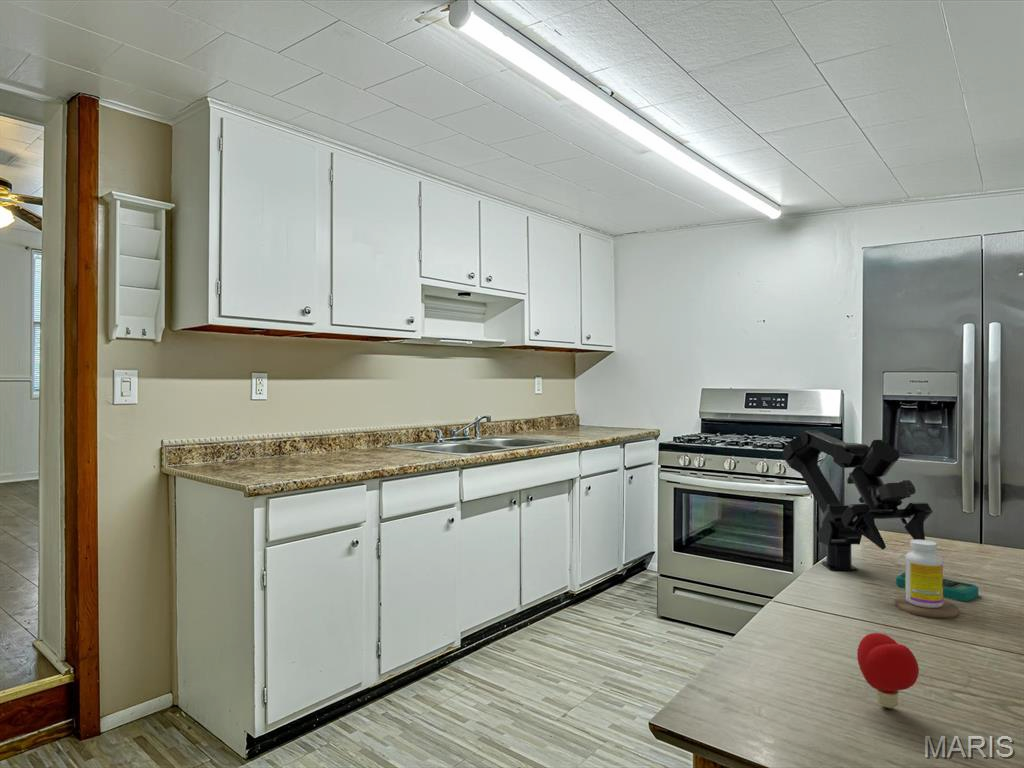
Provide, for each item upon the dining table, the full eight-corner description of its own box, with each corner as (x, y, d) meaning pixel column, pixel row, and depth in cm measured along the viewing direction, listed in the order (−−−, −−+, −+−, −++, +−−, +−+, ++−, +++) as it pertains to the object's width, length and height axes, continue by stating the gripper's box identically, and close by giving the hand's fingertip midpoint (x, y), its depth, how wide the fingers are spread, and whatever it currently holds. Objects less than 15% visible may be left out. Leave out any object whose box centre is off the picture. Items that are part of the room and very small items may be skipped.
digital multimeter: (907, 581, 155) (907, 569, 155) (980, 597, 143) (980, 584, 143) (893, 587, 151) (892, 574, 151) (966, 604, 139) (966, 590, 139)
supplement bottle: (950, 609, 132) (949, 546, 131) (915, 608, 132) (914, 545, 132) (932, 598, 138) (932, 538, 138) (899, 597, 139) (899, 537, 139)
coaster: (885, 599, 141) (885, 594, 141) (939, 600, 140) (939, 596, 140) (911, 617, 130) (911, 612, 130) (969, 619, 129) (969, 614, 129)
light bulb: (845, 694, 99) (844, 628, 99) (889, 692, 99) (888, 626, 99) (885, 726, 89) (885, 653, 89) (933, 723, 90) (933, 651, 90)
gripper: (848, 468, 146) (880, 529, 135) (926, 466, 147) (964, 526, 136) (828, 497, 154) (857, 556, 143) (902, 495, 155) (937, 553, 144)
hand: (904, 547), depth 141 cm, fingers open, 9 cm apart
